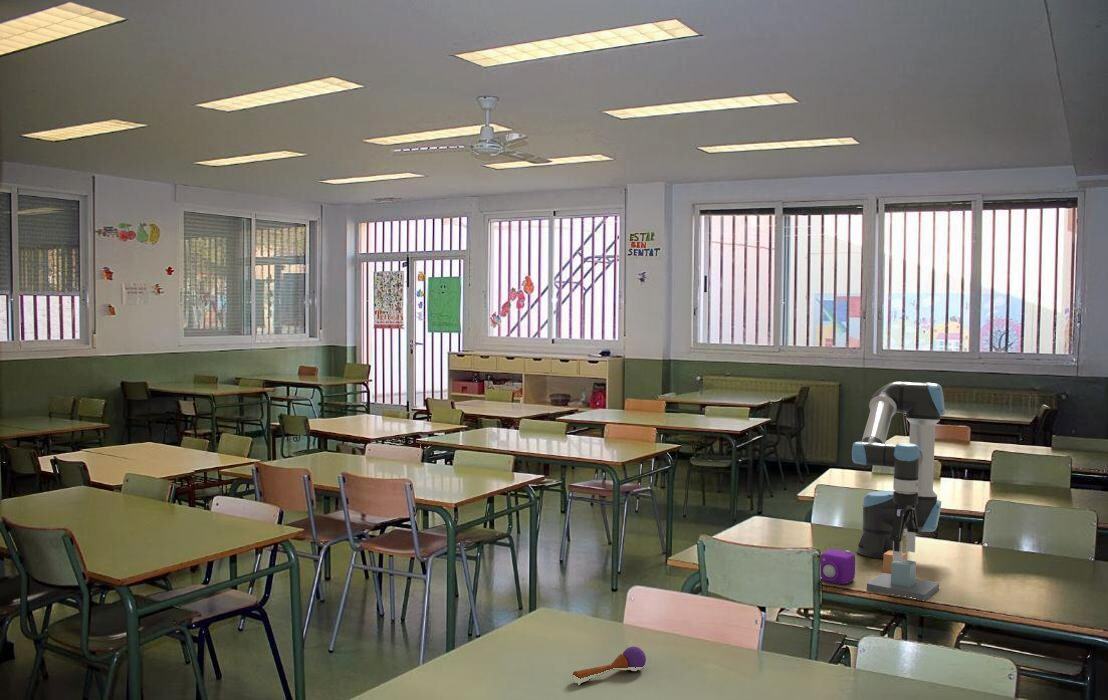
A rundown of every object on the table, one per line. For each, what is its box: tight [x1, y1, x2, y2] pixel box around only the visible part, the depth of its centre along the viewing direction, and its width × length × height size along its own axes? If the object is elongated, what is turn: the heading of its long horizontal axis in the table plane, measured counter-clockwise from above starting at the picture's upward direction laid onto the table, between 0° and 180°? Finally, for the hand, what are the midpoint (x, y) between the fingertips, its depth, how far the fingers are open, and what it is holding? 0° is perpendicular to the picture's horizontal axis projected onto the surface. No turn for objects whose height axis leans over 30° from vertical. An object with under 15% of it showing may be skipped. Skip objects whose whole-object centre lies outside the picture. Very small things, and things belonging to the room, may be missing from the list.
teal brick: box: [891, 559, 917, 587], centre depth 291 cm, size 6×6×7 cm
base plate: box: [866, 572, 940, 602], centre depth 291 cm, size 18×16×2 cm
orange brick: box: [882, 550, 908, 574], centre depth 309 cm, size 6×6×7 cm
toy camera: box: [820, 548, 856, 585], centre depth 298 cm, size 11×14×10 cm
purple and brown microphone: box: [572, 646, 647, 679], centre depth 218 cm, size 6×6×20 cm
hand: (903, 556), depth 291 cm, fingers open, 13 cm apart
